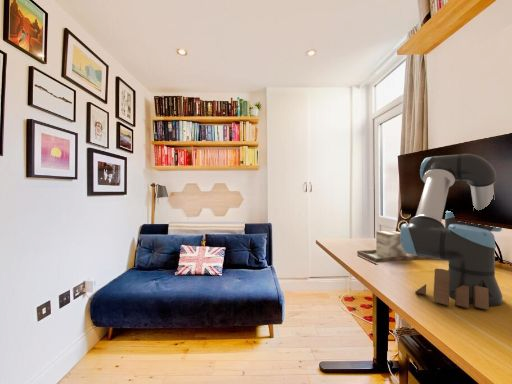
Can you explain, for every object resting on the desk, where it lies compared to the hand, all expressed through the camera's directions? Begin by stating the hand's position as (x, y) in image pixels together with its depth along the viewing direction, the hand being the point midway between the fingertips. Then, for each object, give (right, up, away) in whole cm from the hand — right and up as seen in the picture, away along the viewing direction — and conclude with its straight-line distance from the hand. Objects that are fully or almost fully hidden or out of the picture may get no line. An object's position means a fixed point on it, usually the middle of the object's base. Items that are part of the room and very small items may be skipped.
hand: (399, 241), depth 126 cm
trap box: (+3, -8, 0) cm, 9 cm away
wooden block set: (-14, -10, -50) cm, 52 cm away
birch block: (-5, -7, -1) cm, 9 cm away
